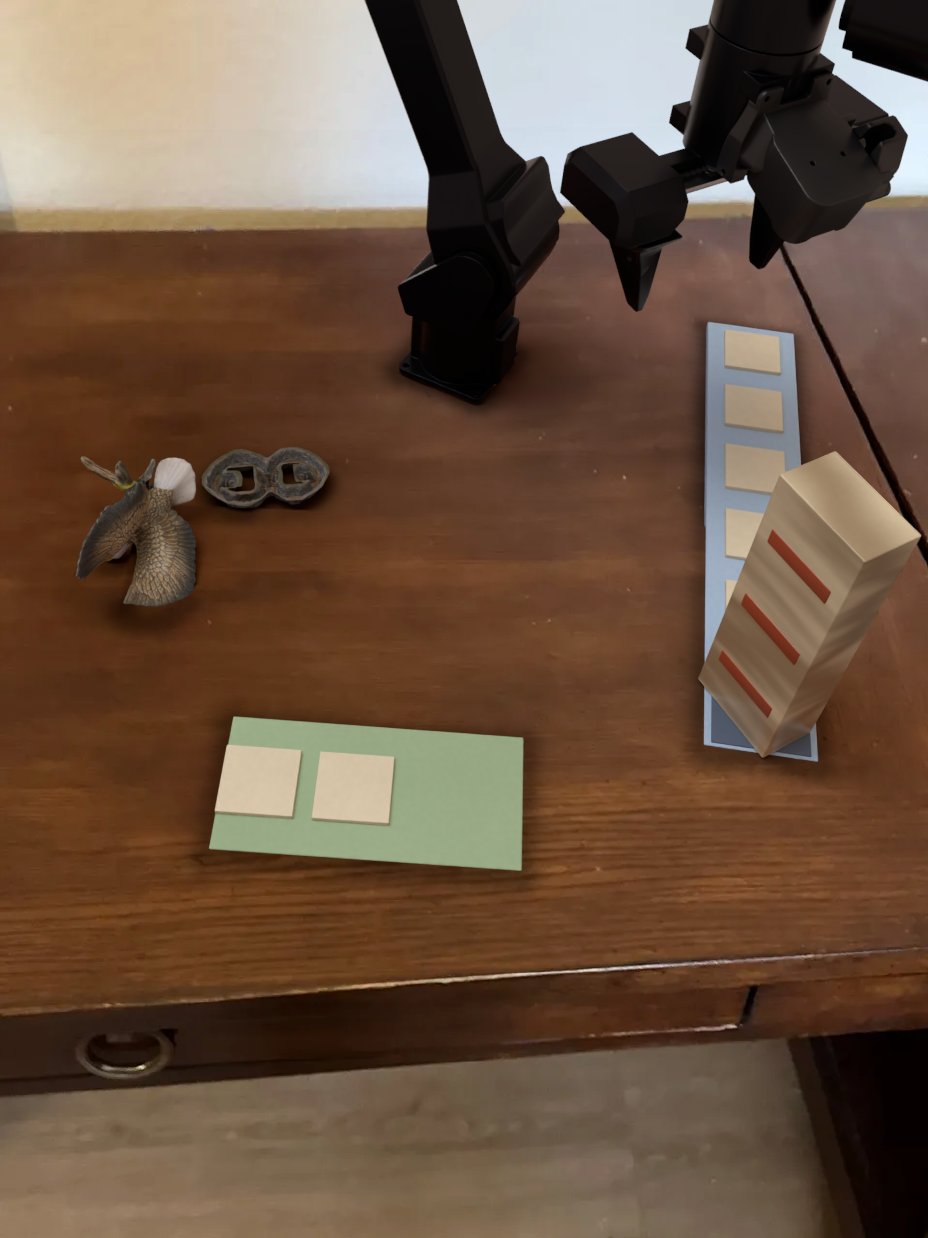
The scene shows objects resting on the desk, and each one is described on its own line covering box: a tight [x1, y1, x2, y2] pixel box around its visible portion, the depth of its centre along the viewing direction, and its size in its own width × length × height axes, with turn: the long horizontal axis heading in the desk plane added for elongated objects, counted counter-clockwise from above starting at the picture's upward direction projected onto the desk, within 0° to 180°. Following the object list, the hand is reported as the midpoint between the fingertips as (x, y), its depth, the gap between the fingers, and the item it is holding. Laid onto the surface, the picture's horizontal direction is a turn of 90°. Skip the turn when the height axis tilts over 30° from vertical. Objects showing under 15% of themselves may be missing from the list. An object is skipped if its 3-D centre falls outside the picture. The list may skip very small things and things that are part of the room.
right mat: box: [703, 321, 819, 763], centre depth 79 cm, size 37×6×1 cm, turn 173°
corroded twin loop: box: [201, 446, 331, 509], centre depth 77 cm, size 5×8×1 cm, turn 100°
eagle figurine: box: [75, 455, 197, 607], centre depth 71 cm, size 8×7×9 cm
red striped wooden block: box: [697, 450, 922, 759], centre depth 62 cm, size 4×6×17 cm, turn 30°
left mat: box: [208, 716, 525, 872], centre depth 64 cm, size 16×8×1 cm, turn 88°
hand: (696, 285), depth 72 cm, fingers open, 9 cm apart
